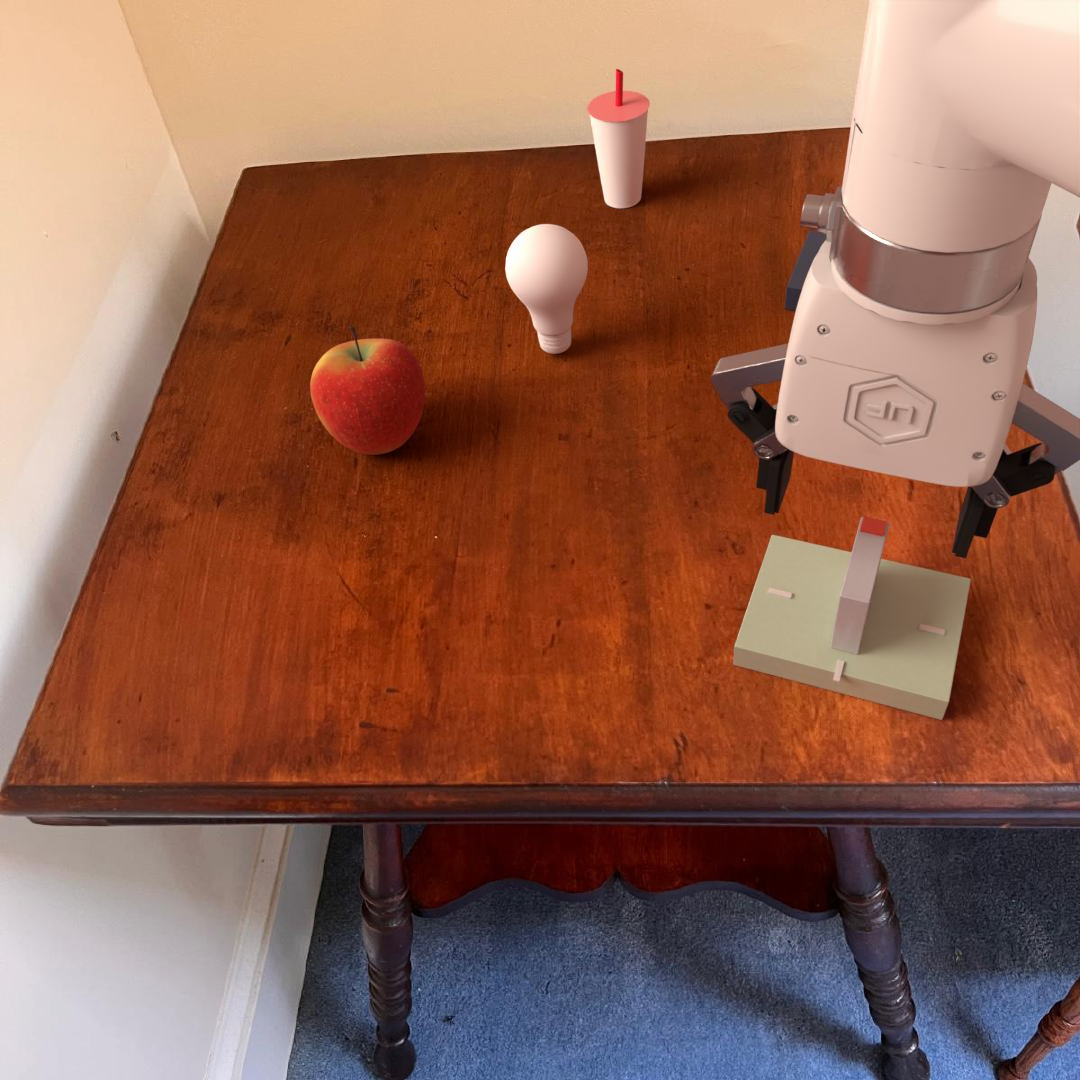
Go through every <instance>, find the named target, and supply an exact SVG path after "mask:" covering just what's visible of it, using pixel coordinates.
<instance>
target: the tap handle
mask: <svg viewBox="0 0 1080 1080" xmlns="http://www.w3.org/2000/svg"><path fill="white" fill-rule="evenodd" d="M889 527H890V522H889V521H887V520H882V519H878V518H874V517H873V518H872V517H868V516H861V517H860V519H859V523H858V527H857V531H856V534H855V538H854V542H853V545H852V549H851V551H850V552H851V556H850V560H849V563H848V567H847V571H846V574H845V578H844V582H843V585H842V589H841V593H840V597H839V602H838V607H837V612H836V618H835V623H834V628H833V633H832V639H831V644H830V648H833V649H837V650H841V651H845V652H849V653H853V654H858V653H859V649H860V645H861V641H862V637H863V633H864V629H865V625H866V621H867V617H868V612H869V608H870V604H871V600H872V596H873V592H874V588H875V584H876V580H877V576H878V572H879V567H880V563H881V559H883V554H884V549H885V545H886V542H887V536H888V533H889V529H890V528H889Z"/></svg>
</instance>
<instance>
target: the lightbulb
mask: <svg viewBox="0 0 1080 1080" xmlns="http://www.w3.org/2000/svg"><path fill="white" fill-rule="evenodd" d="M588 265H589V264H588V256H587V253H586V250H585V248H584V246H583V244H582V242H581V241H580V239H579V238H578V237H577V236H576V235H575V234H574V233H573V232H571V231H570V230H568V229H567V228H565V227H564V226H561V225H558V224H553V223H552V224H551V223H540V224H536V225H533V226H530V227H529V228H526V229H525V230H523V231H522V232H520V233H519V234H518V235H517V236H516V237H515V239H514V240H513V241H512V242H511V245H510V246H509V248H508V250H507V254H506V257H505V267H504V270H505V275H506V280H507V283H508V285H509V287H510V289H511V290H512V292H513V293H514V295H515V296H516V297H517V298H518V300H520V302H521V303H522V304H523V305H524V306H525V307H526V309H527V311H528V312H529V315H530V317H531V321H532V326H533V328H534V329H535V331H536V333H537V338H538V343H539V346H540V349H541V350H542V351H543V352H545V353H547V354H550V355H551V354H552V355H556V354H557V355H558V354H561V353H564V352H566V351H567V350H568V349H569V348H570V347H571V344H572V328H571V327H572V326H573V323H574V308H575V303H576V301H577V298H578V297H579V295H580V293H581V291H582V290H583V287H584V285H585V283H586V280H587V277H588V271H589V266H588Z"/></svg>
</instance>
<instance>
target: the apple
mask: <svg viewBox="0 0 1080 1080" xmlns="http://www.w3.org/2000/svg"><path fill="white" fill-rule="evenodd" d="M348 328H349V330H350V332H351V334H352V336H353V338H354V339H353V340H350V341H346V342H343V343H339V344H337V345H335V346H333V347H332V348H330V349H329V350H327V351H326V352H325V353H324V354H323V355H322V356H321V357H320V359H319V360H318V361H317V363H316V364H315V366H314V368H313V370H312V374H311V377H310V382H309V388H310V397H311V398H310V399H311V402H312V405H313V408H314V410H315V413H316V416H317V417H318V419H319V421H320V422H321V424H322V425H323V427H324V428H325V430H326V431H327V432H328V433H329V435H330V436H331V437H332V438H334V439H335V440H336V441H337V442H338V443H339V444H341V446H344V447H345V448H347V449H349V450H351V451H353V452H355V453H358V454H362V455H370V456H376V455H383V454H387V453H391V452H392V451H395V450H397V449H399V448H401V447H402V446H403V445H405V443H406V442H407V441H408V440H409V439H410V438H411V437H412V436H413V434H414V433H415V430H416V429H417V427H418V425H419V422H420V420H421V417H422V416H423V410H424V405H425V401H426V400H425V399H426V383H425V378H424V373H423V369H422V367H421V364H420V363H419V360H418V359H417V357H416V356H415V354H414V353H413V352H412V350H410V348H408V346H406V345H405V344H403V343H401V342H400V341H397V340H394V339H390V338H383V337H382V338H380V337H379V338H378V337H377V338H375V337H374V338H362V339H358V336H357V331H356V326H354V325H348Z"/></svg>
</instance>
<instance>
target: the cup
mask: <svg viewBox="0 0 1080 1080" xmlns="http://www.w3.org/2000/svg"><path fill="white" fill-rule="evenodd" d="M650 104H651V103H650V100H649V98H648V97H647V96H646V95H644V94H642V93H640V92H636V91H631V90H624V71H622V70H621V69H619V68H615V91H609V92H604V93H602V94H600V95H598V96H595V97H594V98H593V99H591V101H589V103H588V104H587V107H586V109H587V113H588V115H589V120H590V125H591V130H592V137H593V142H594V143H593V144H594V149H595V156H596V161H597V167H598V172H599V178H600V184H601V189H602V194H603V199H604V202H605V204H606V205H607V206H608V207H611V208H614V209H627V208H631V207H634V206H636V205H637V204H639V203H640V202H641V200H642V193H643V183H644V182H643V181H644V167H645V155H646V141H647V130H648V129H647V127H648V116H649V115H648V114H649V113H648V111H649V108H650Z"/></svg>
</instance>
